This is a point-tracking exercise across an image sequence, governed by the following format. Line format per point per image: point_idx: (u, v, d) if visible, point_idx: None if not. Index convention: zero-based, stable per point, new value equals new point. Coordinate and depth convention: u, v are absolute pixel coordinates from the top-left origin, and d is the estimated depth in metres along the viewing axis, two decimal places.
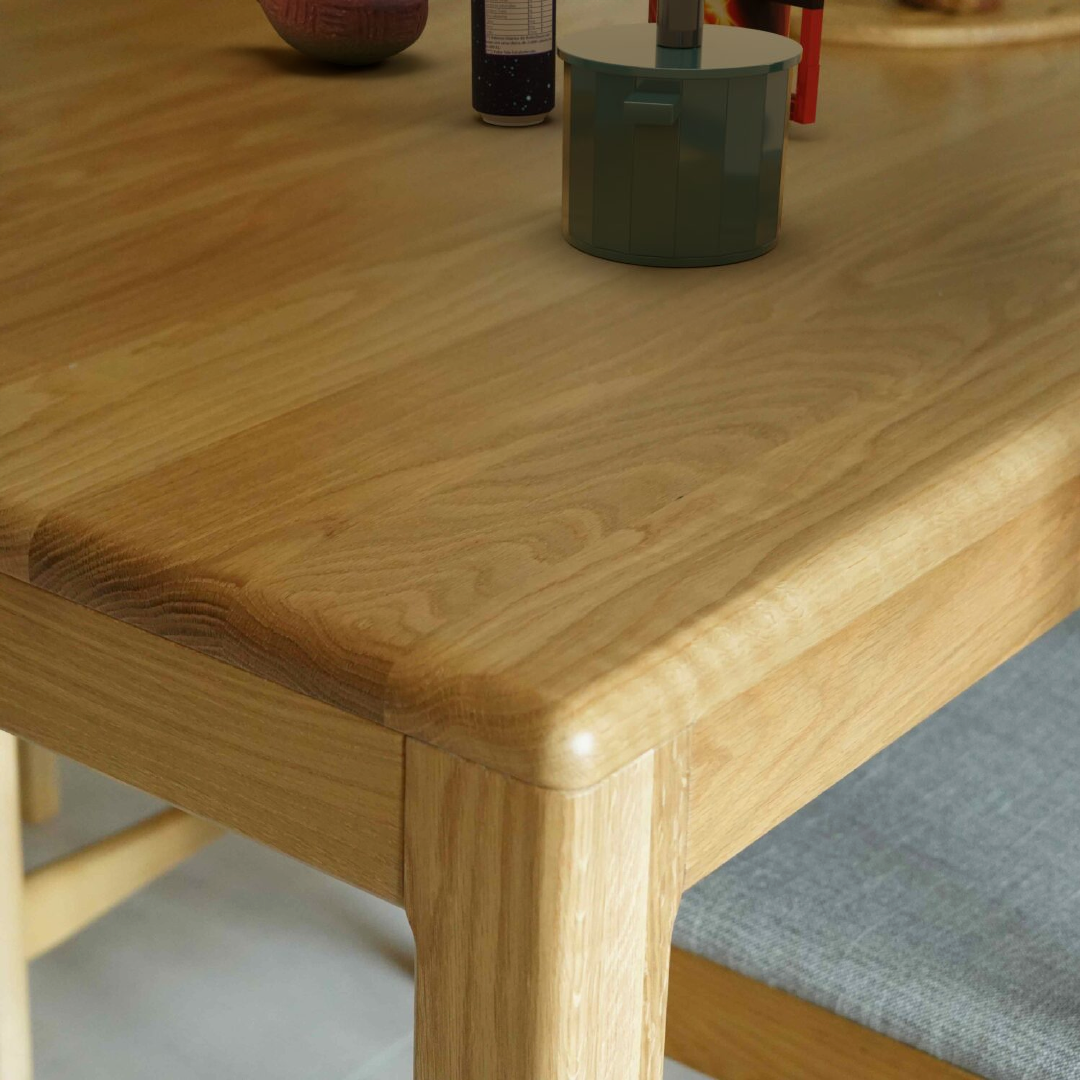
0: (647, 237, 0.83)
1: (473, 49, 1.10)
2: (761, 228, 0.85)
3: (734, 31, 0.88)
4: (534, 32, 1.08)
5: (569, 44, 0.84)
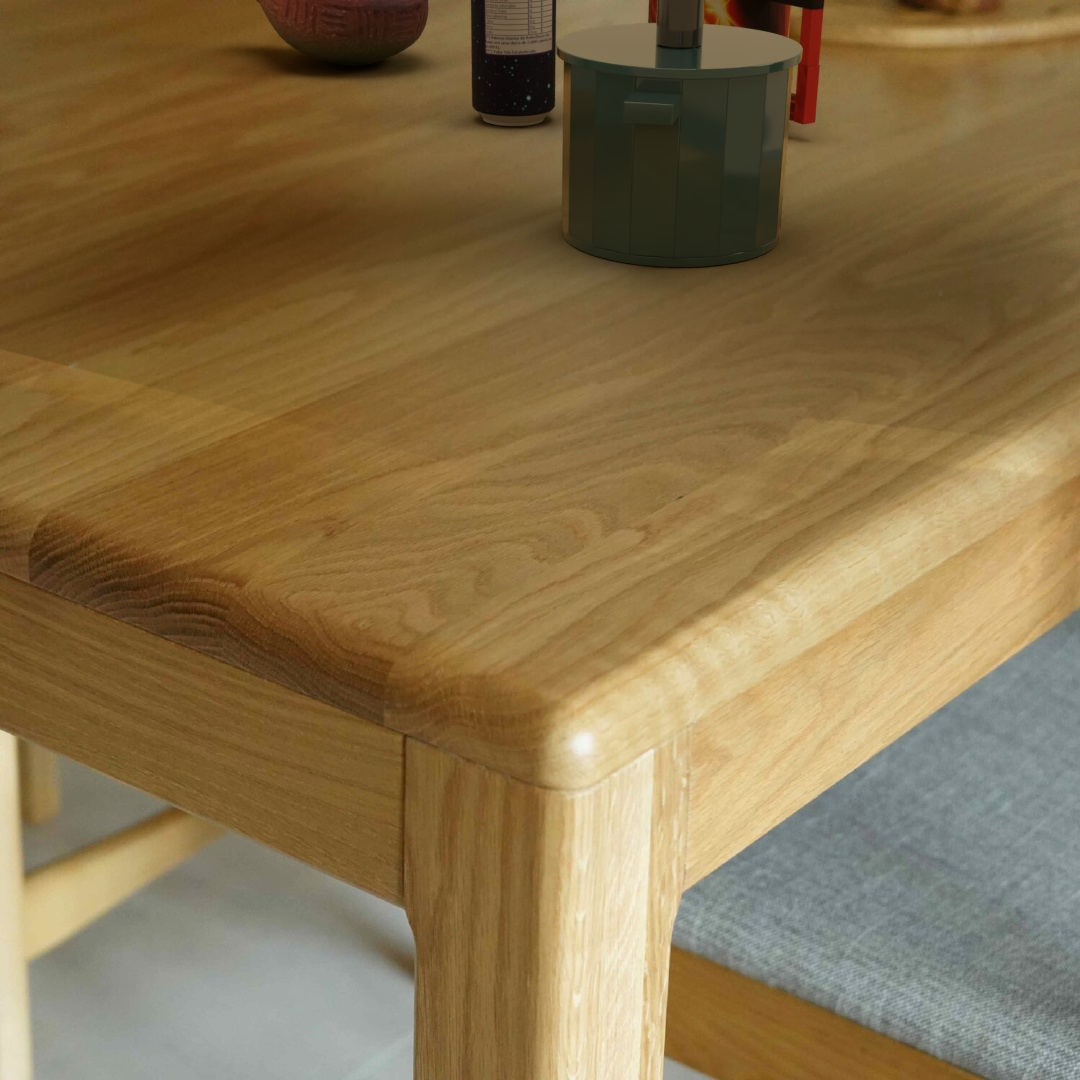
0: (647, 237, 0.83)
1: (473, 49, 1.10)
2: (761, 228, 0.85)
3: (734, 31, 0.88)
4: (534, 32, 1.08)
5: (569, 44, 0.84)
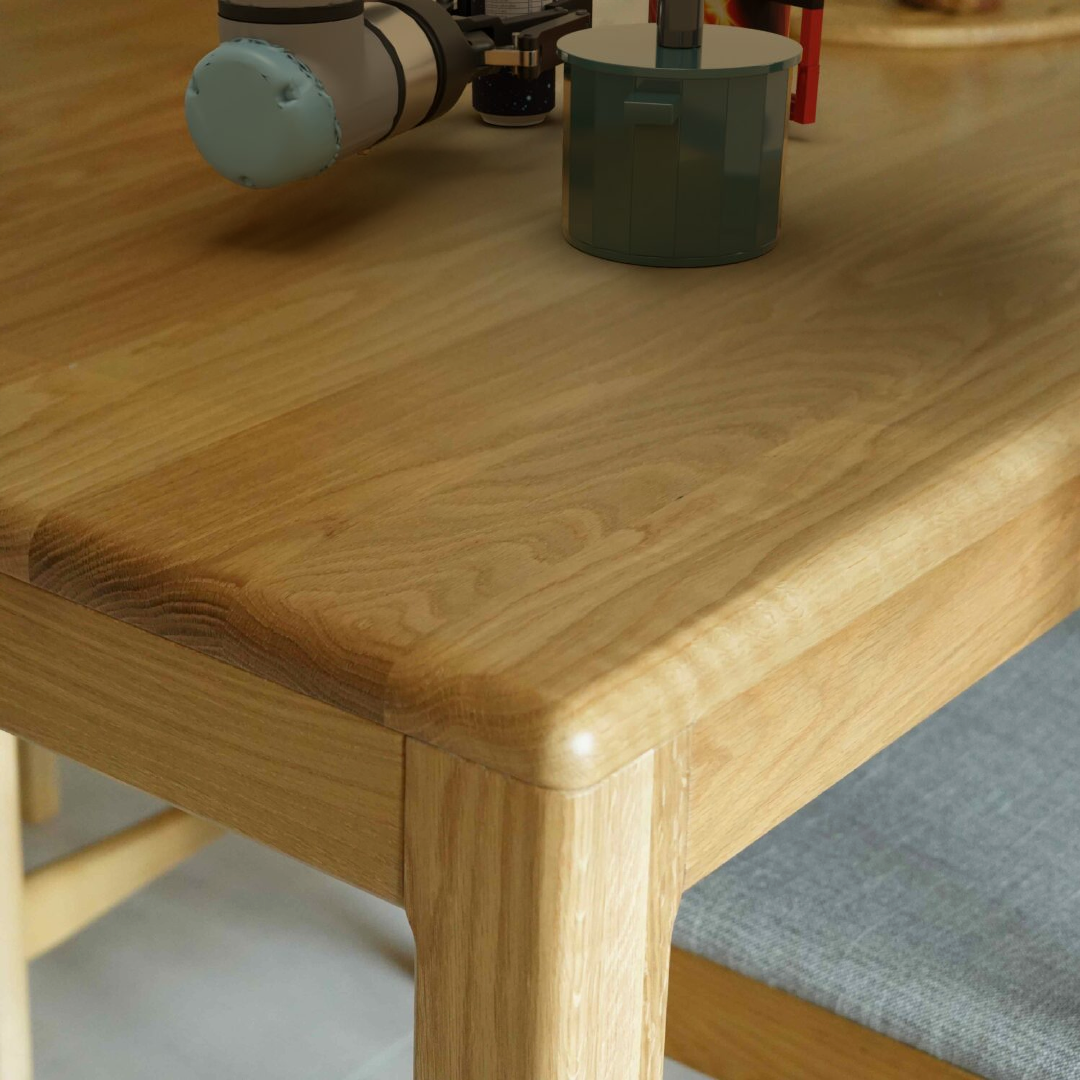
0: (647, 237, 0.83)
1: None
2: (761, 228, 0.85)
3: (734, 31, 0.88)
4: None
5: (569, 44, 0.84)
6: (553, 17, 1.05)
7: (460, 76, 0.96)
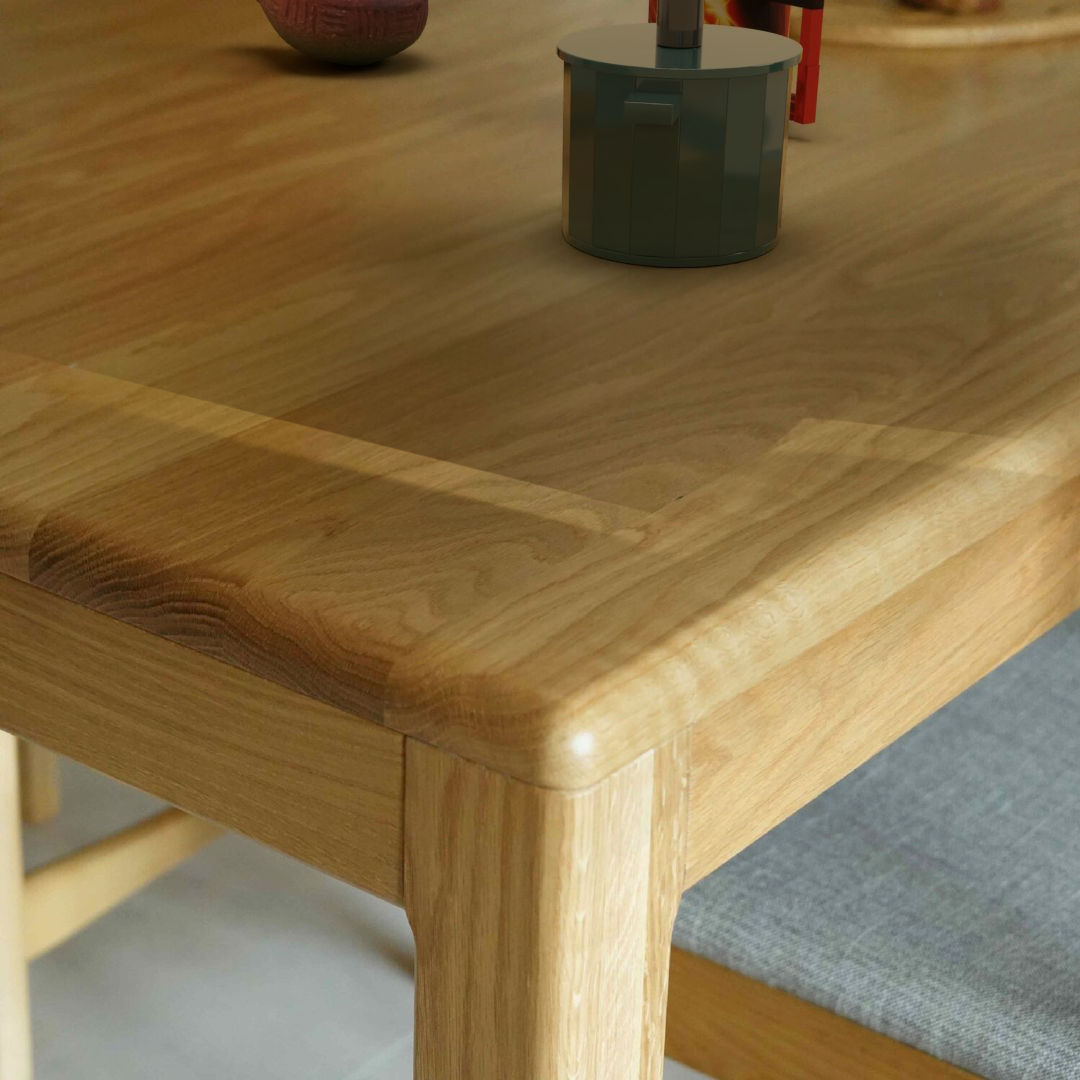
0: (647, 237, 0.83)
1: None
2: (761, 228, 0.85)
3: (734, 31, 0.88)
4: None
5: (569, 44, 0.84)
6: None
7: None
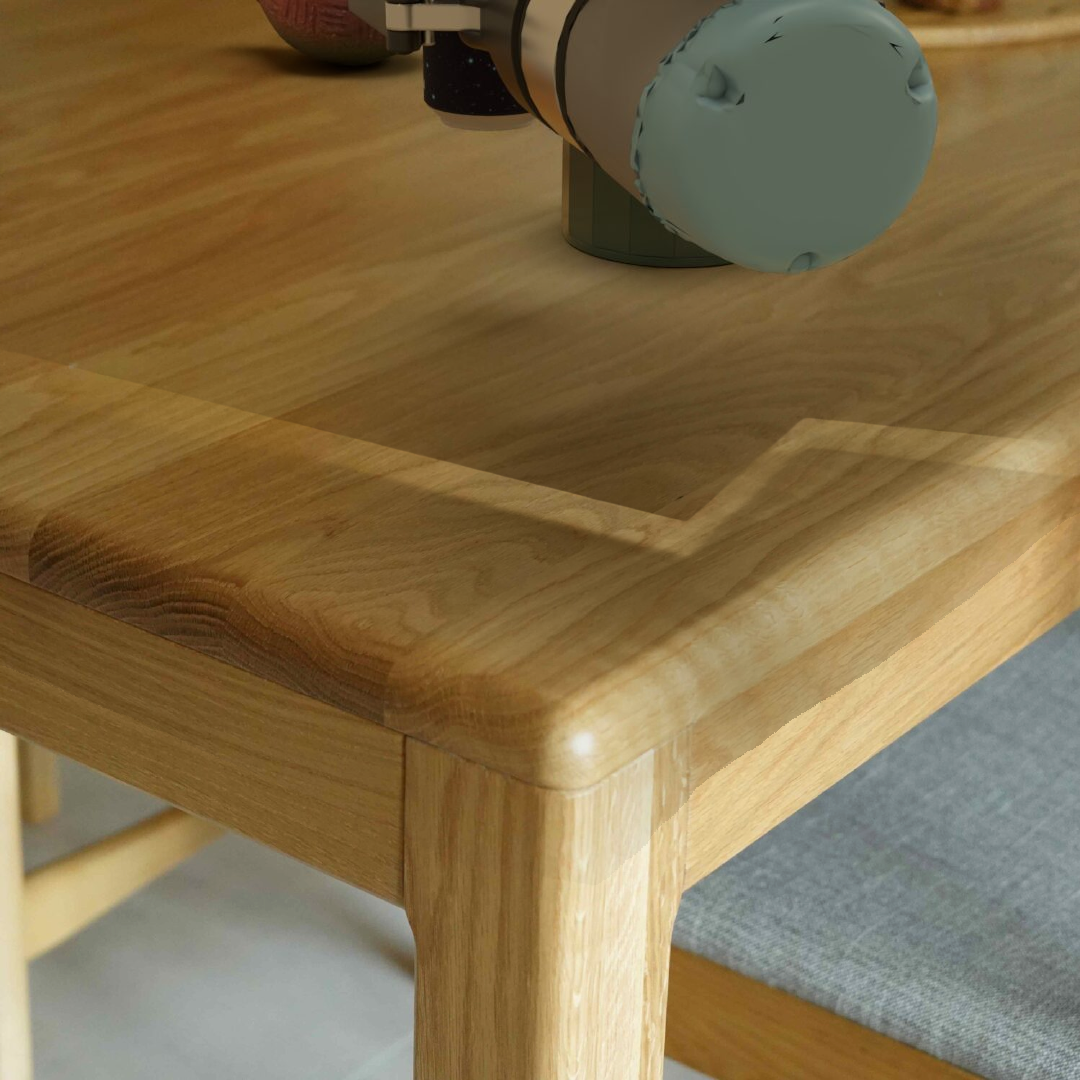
0: (647, 237, 0.83)
1: None
2: None
3: None
4: None
5: None
6: None
7: None
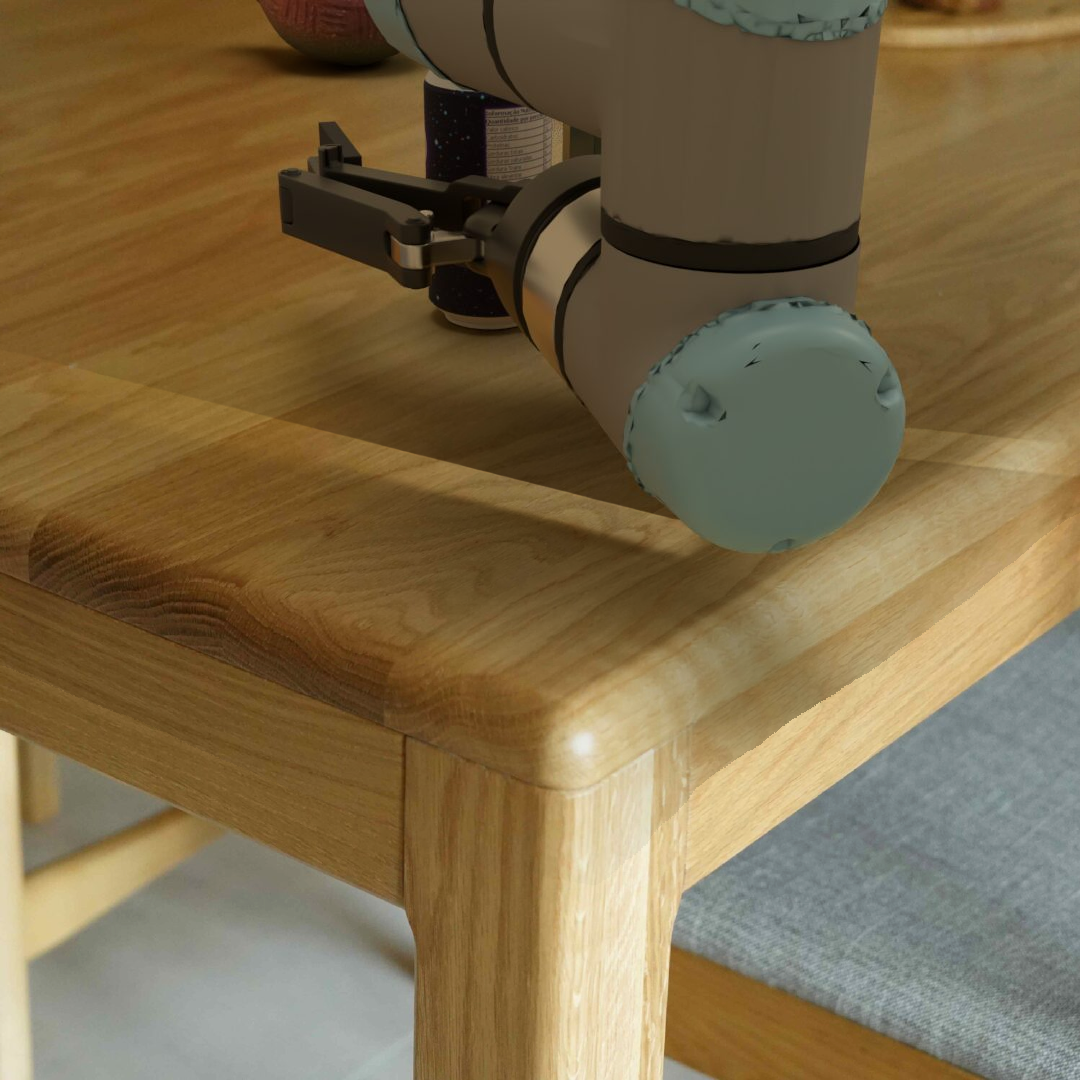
0: None
1: None
2: None
3: None
4: None
5: None
6: None
7: None
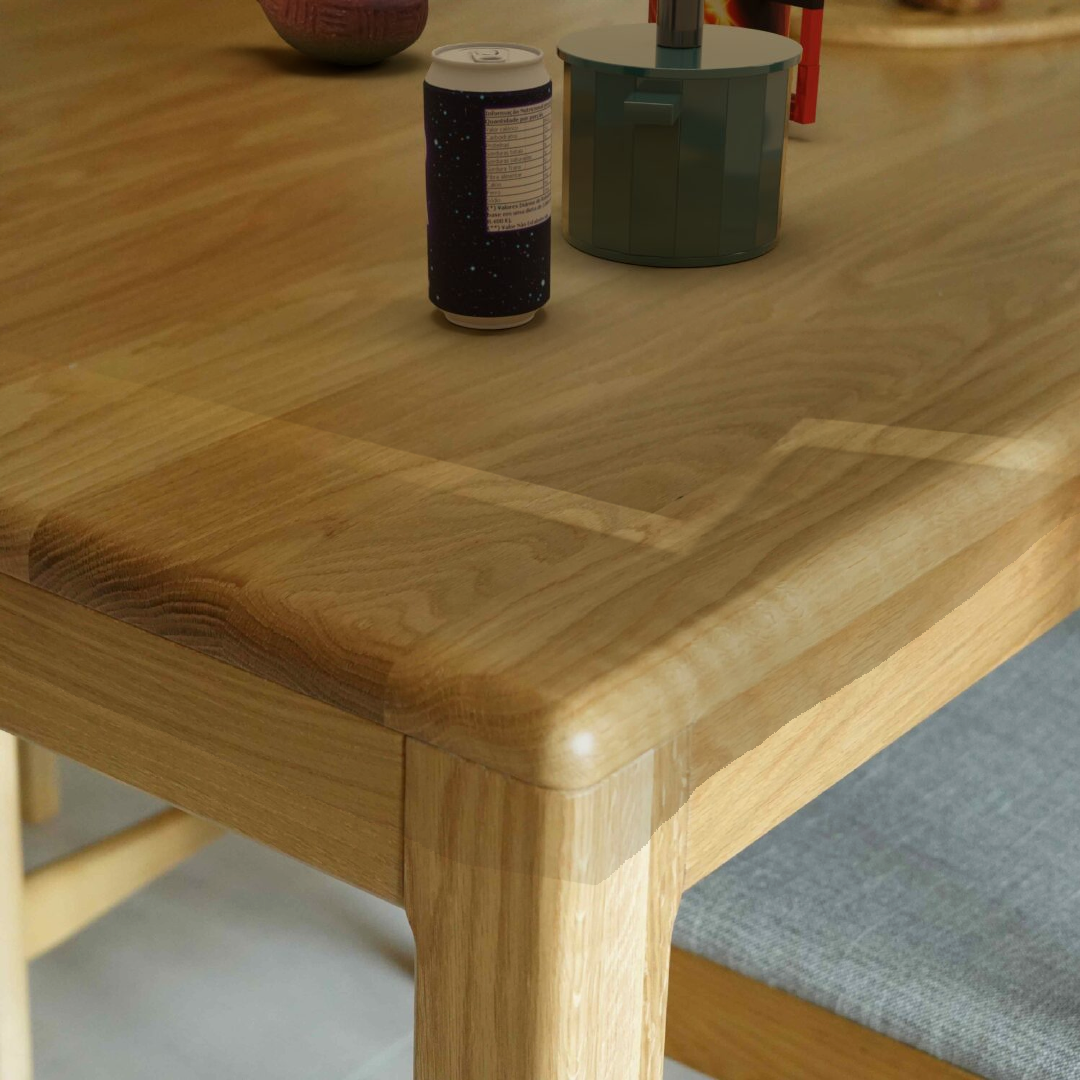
0: (647, 237, 0.83)
1: (454, 228, 0.73)
2: (761, 228, 0.85)
3: (734, 31, 0.88)
4: (547, 189, 0.73)
5: (569, 44, 0.84)
6: None
7: None
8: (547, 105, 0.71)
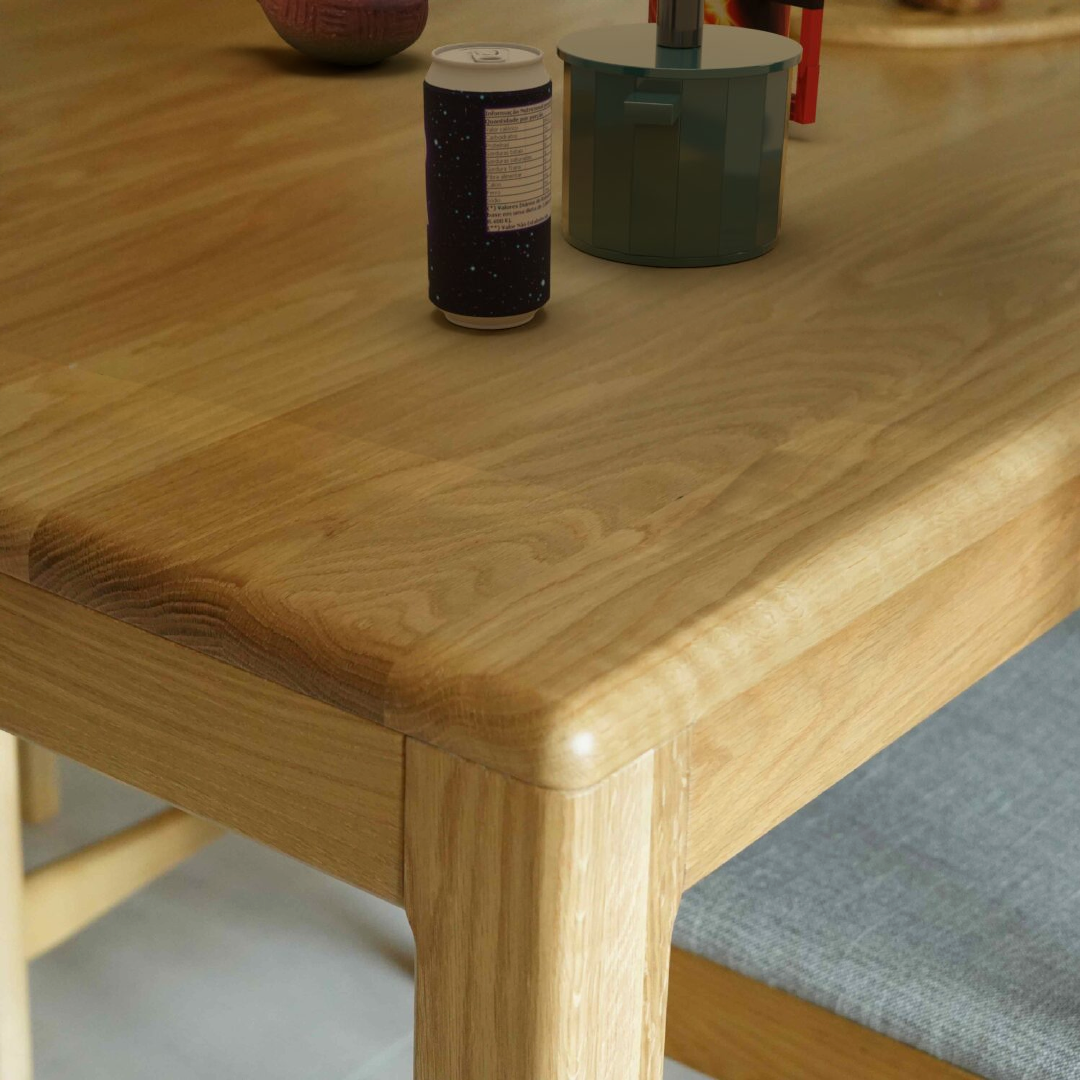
0: (647, 237, 0.83)
1: (454, 228, 0.73)
2: (761, 228, 0.85)
3: (734, 31, 0.88)
4: (547, 189, 0.73)
5: (569, 44, 0.84)
6: None
7: None
8: (547, 105, 0.71)
